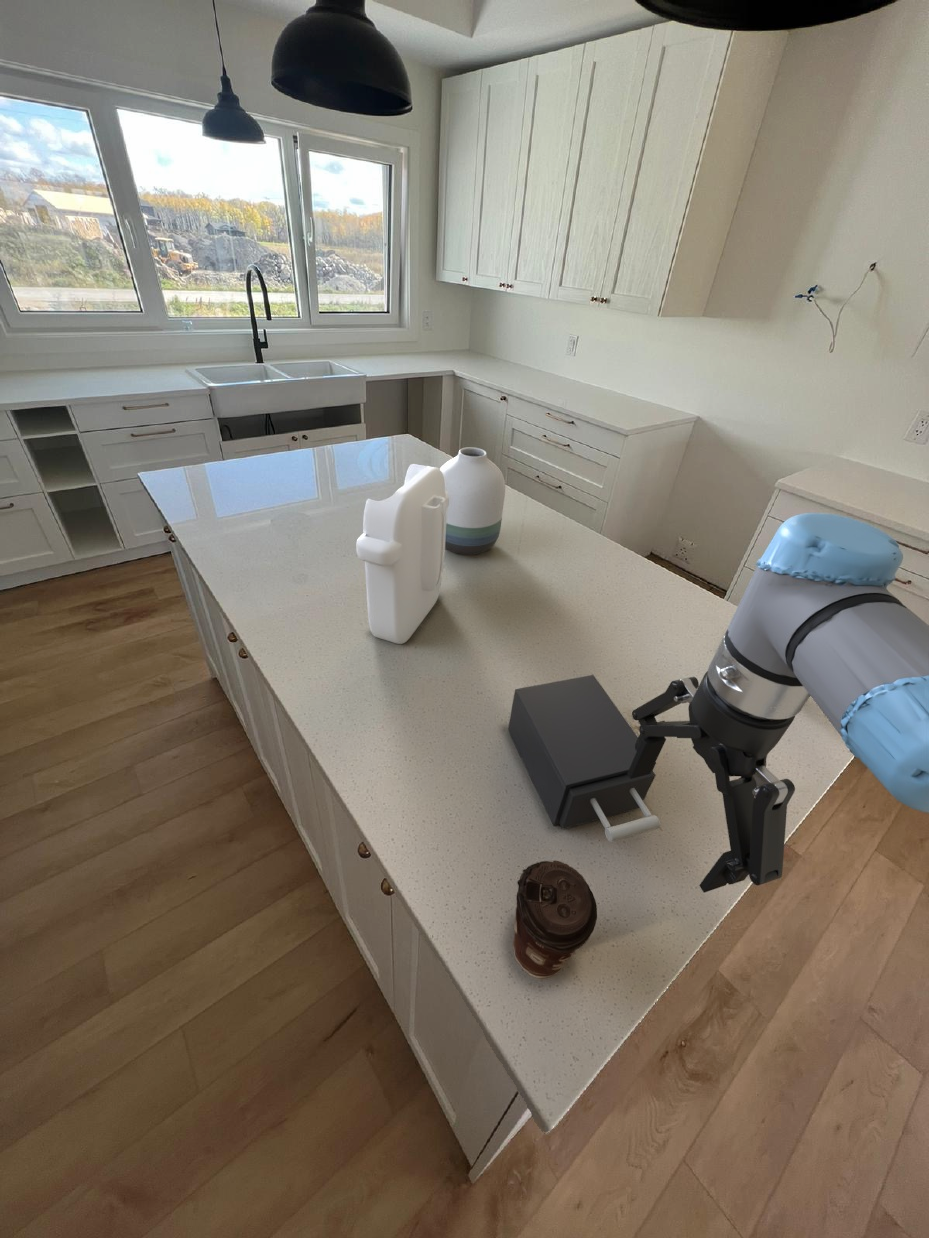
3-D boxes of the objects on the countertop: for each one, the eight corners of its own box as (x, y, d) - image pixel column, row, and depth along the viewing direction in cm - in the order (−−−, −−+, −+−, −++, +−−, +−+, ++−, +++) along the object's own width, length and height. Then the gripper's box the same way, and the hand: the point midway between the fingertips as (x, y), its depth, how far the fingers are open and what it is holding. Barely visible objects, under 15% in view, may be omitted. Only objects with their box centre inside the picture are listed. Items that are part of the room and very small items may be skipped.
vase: (505, 559, 128) (518, 465, 113) (437, 562, 125) (441, 466, 110) (490, 527, 141) (499, 439, 126) (428, 529, 138) (431, 439, 123)
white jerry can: (409, 665, 95) (410, 518, 77) (356, 648, 98) (344, 502, 80) (461, 589, 116) (471, 459, 98) (416, 577, 119) (417, 448, 100)
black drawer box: (637, 803, 75) (656, 762, 70) (553, 826, 72) (566, 785, 66) (581, 714, 88) (593, 674, 83) (507, 730, 85) (515, 688, 79)
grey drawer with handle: (663, 845, 69) (682, 813, 65) (582, 870, 66) (595, 837, 61) (585, 722, 86) (595, 689, 81) (517, 736, 83) (523, 703, 78)
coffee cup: (486, 940, 60) (498, 887, 52) (533, 892, 64) (551, 836, 56) (543, 1008, 55) (566, 961, 47) (590, 951, 59) (618, 899, 52)
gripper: (633, 609, 52) (588, 743, 65) (840, 835, 34) (719, 958, 47) (694, 600, 54) (639, 731, 67) (921, 808, 36) (784, 933, 49)
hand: (672, 824), depth 57 cm, fingers open, 13 cm apart
